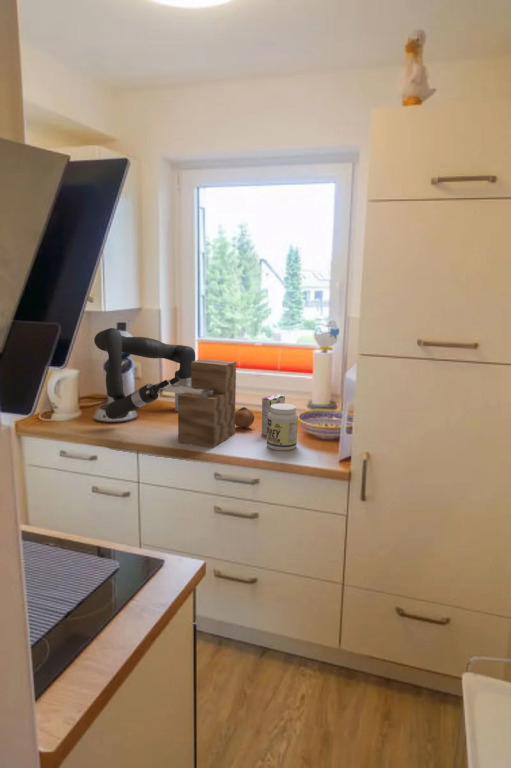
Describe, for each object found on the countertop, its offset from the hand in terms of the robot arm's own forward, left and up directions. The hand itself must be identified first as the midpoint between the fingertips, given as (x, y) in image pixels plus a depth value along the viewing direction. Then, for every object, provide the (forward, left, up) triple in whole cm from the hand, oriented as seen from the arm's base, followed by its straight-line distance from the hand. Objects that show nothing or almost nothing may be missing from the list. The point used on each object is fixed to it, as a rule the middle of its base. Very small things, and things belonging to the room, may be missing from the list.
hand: (173, 380), depth 209 cm
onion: (-27, +21, -25) cm, 42 cm away
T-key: (0, +7, -5) cm, 8 cm away
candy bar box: (-27, +35, -25) cm, 50 cm away
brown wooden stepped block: (-6, +13, -25) cm, 29 cm away
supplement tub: (-10, +45, -25) cm, 52 cm away
